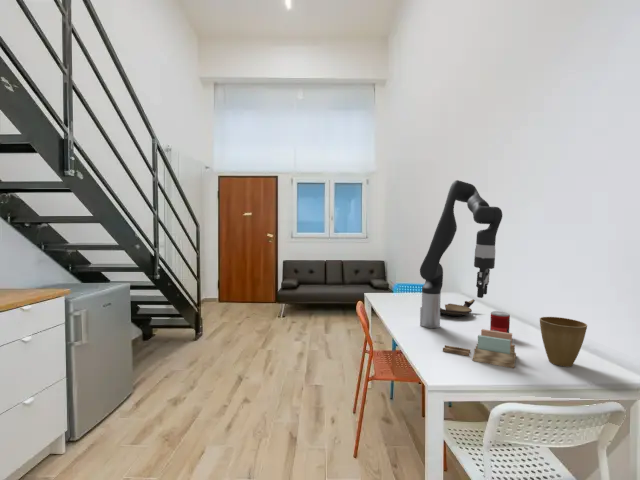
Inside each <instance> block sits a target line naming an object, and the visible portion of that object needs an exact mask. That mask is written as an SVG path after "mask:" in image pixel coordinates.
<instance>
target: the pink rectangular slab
mask: <svg viewBox="0 0 640 480" xmlns="http://www.w3.org/2000/svg"><path fill="white" fill-rule="evenodd" d="M480 333H481V334H480V335H482V336H489V337H496V338H502V339H509V340H510V347H512V345H513V333H512V332H509V333H506V332H499V331H492V330H490V329H485V328H484V329H483V328H482V329H481V332H480Z"/></svg>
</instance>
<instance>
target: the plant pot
mask: <svg viewBox="0 0 640 480" xmlns="http://www.w3.org/2000/svg"><path fill="white" fill-rule="evenodd" d="M539 326H540V333H541V338H542V343H543V347H544V350H545V354H546V356H547V360H548V361H549V363H551V364H553V365H556V366H560V367H566V368H567V367H569V368H570V367H573V365H574V363H575V361H576V360H577V357H578V355H579V353H580V351H581V348H582V346H583V344H584V340H585V337H586V333H587V329H588V324H587V323H585V322H583V321H580V320H576V319H571V318H566V317H557V316H542V317H539Z"/></svg>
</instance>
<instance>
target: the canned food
mask: <svg viewBox="0 0 640 480" xmlns="http://www.w3.org/2000/svg"><path fill="white" fill-rule="evenodd" d="M510 315H511V314H510V313H509V312H505V311H497V310H494V311H490V326H489V327H490V328H489V330H492V331H499V332H506V333H510V325H511V324H510V320H511V316H510Z"/></svg>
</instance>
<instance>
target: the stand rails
mask: <svg viewBox="0 0 640 480" xmlns="http://www.w3.org/2000/svg"><path fill="white" fill-rule="evenodd" d="M442 352H445V353H451V354H454V355H455V354H456V355H461V356H467V357H470V354H471V349H470V348H463V347H459V346H458V347H457V346H452V345H446V344H444V347H442Z"/></svg>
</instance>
